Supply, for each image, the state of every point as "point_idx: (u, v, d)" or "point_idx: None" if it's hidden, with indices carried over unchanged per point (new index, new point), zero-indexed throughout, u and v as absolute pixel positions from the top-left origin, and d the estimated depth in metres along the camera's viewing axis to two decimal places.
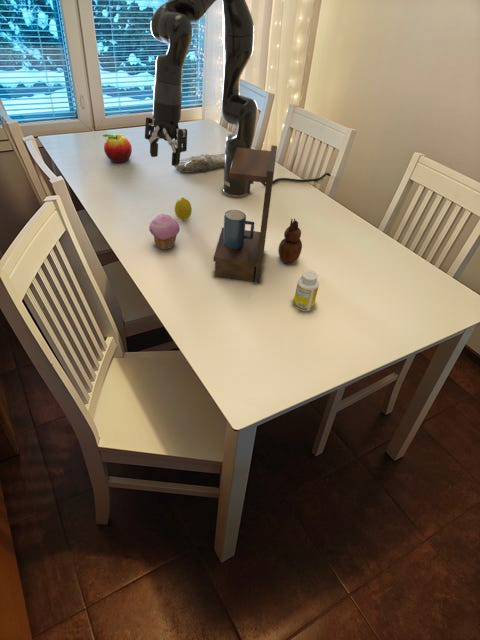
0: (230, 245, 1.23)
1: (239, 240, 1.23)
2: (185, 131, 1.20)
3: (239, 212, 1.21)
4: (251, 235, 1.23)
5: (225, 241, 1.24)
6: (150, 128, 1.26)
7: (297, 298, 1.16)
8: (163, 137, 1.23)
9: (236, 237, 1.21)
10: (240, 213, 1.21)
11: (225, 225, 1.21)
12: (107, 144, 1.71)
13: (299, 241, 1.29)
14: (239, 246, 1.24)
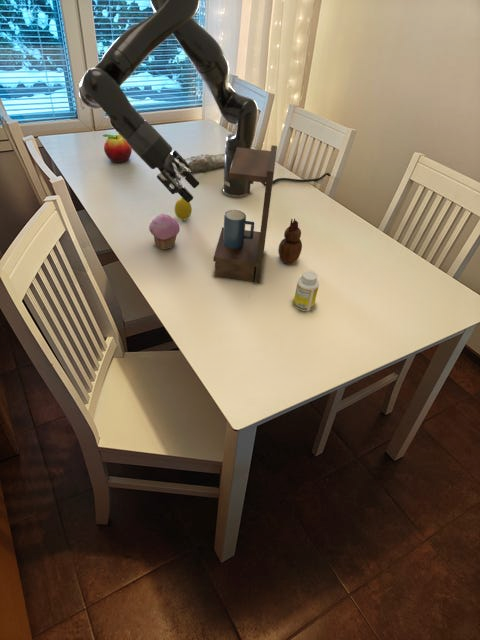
0: (230, 245, 1.23)
1: (239, 240, 1.23)
2: (162, 173, 1.07)
3: (239, 212, 1.21)
4: (251, 235, 1.23)
5: (225, 241, 1.24)
6: None
7: (297, 298, 1.16)
8: None
9: (236, 237, 1.21)
10: (240, 213, 1.21)
11: (225, 225, 1.21)
12: (107, 144, 1.71)
13: (299, 241, 1.29)
14: (239, 246, 1.24)
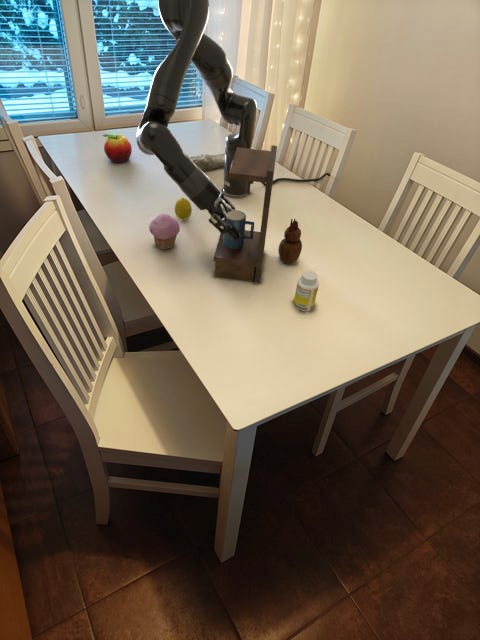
0: (230, 245, 1.23)
1: (239, 240, 1.23)
2: (214, 218, 1.14)
3: (239, 212, 1.21)
4: (251, 235, 1.23)
5: (225, 241, 1.24)
6: None
7: (297, 298, 1.16)
8: None
9: None
10: (240, 213, 1.21)
11: None
12: (107, 144, 1.71)
13: (299, 241, 1.29)
14: (239, 246, 1.24)
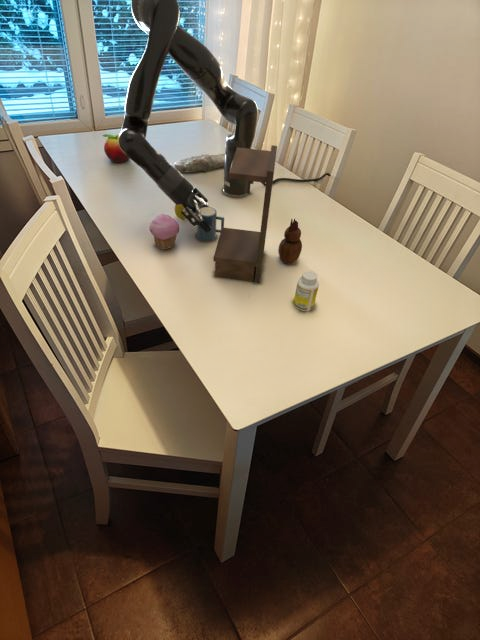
0: (203, 238, 1.38)
1: (211, 233, 1.37)
2: (185, 209, 1.28)
3: (211, 208, 1.36)
4: None
5: (198, 234, 1.38)
6: None
7: (297, 298, 1.16)
8: None
9: None
10: (211, 210, 1.35)
11: None
12: (107, 144, 1.71)
13: (299, 241, 1.29)
14: (211, 239, 1.39)
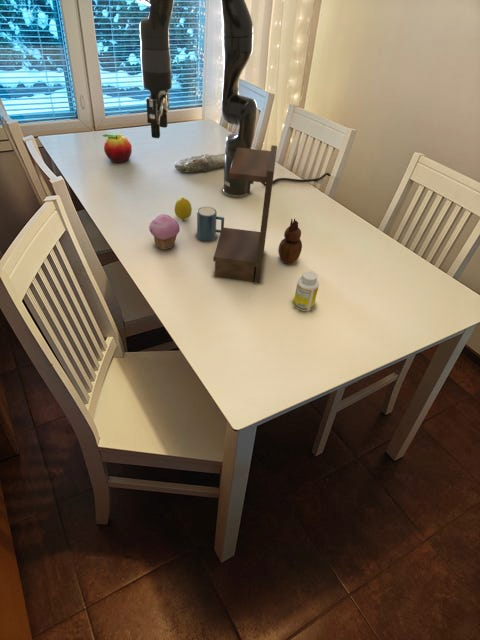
0: (203, 238, 1.38)
1: (211, 233, 1.37)
2: (153, 101, 1.11)
3: (211, 208, 1.36)
4: None
5: (198, 234, 1.38)
6: None
7: (297, 298, 1.16)
8: None
9: (207, 230, 1.36)
10: (211, 210, 1.35)
11: (198, 220, 1.35)
12: (107, 144, 1.71)
13: (299, 241, 1.29)
14: (211, 239, 1.39)
